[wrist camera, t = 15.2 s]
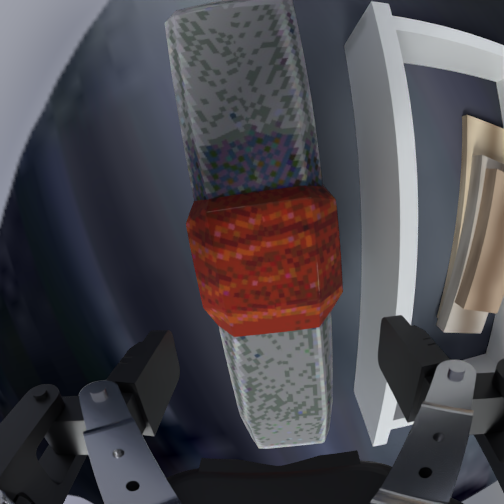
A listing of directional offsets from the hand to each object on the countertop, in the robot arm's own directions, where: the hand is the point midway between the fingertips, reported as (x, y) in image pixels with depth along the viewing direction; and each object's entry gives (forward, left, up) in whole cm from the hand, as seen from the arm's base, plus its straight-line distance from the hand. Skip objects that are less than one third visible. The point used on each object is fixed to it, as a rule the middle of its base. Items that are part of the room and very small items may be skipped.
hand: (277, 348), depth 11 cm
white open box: (-20, 0, -21) cm, 29 cm away
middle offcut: (-24, +2, -20) cm, 31 cm away
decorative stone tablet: (0, 0, -21) cm, 21 cm away
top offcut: (-25, +1, -18) cm, 30 cm away
